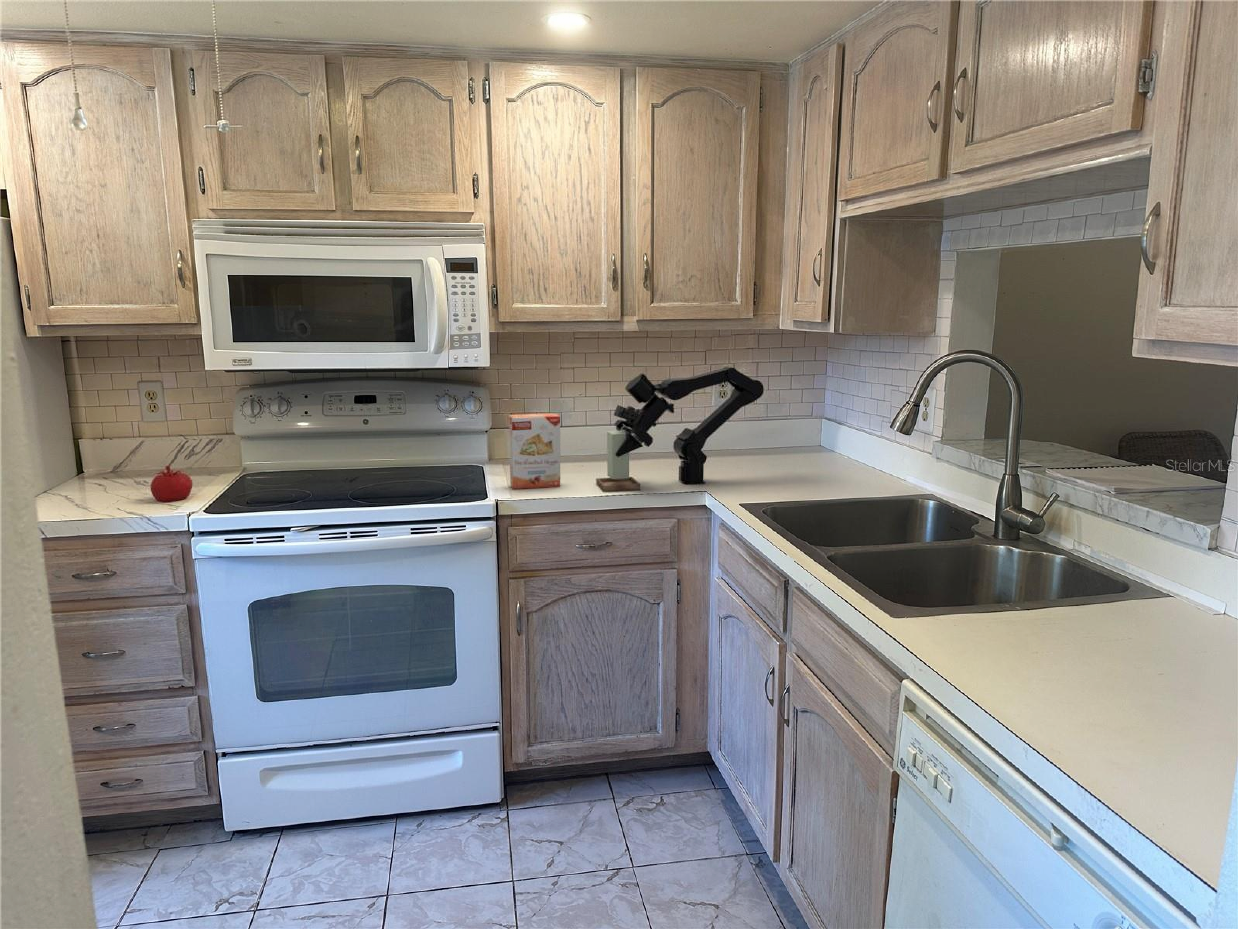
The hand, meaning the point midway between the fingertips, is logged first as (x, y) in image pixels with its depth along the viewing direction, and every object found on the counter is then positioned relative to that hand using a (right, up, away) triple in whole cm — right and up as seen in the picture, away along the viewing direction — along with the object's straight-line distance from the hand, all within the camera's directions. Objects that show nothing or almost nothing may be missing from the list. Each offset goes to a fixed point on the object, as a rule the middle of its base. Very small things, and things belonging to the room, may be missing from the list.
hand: (613, 454), depth 235 cm
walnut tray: (+1, -9, +2) cm, 10 cm away
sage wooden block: (+1, -6, +2) cm, 7 cm away
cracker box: (-23, -9, +4) cm, 25 cm away
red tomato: (-119, -13, -12) cm, 121 cm away
